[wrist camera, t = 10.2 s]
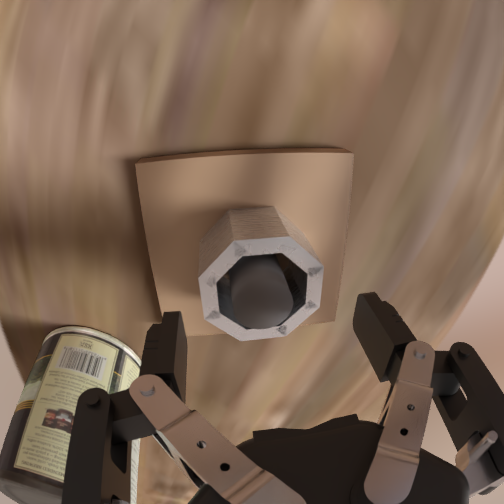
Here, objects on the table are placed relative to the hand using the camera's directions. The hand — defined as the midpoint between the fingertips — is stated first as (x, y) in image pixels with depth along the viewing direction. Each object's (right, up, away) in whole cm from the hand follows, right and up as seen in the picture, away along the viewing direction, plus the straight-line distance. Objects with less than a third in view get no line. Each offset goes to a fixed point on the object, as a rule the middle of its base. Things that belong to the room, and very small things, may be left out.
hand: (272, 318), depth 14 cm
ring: (-1, +3, +5) cm, 6 cm away
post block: (-1, +3, +6) cm, 7 cm away
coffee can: (-15, -7, +10) cm, 20 cm away
